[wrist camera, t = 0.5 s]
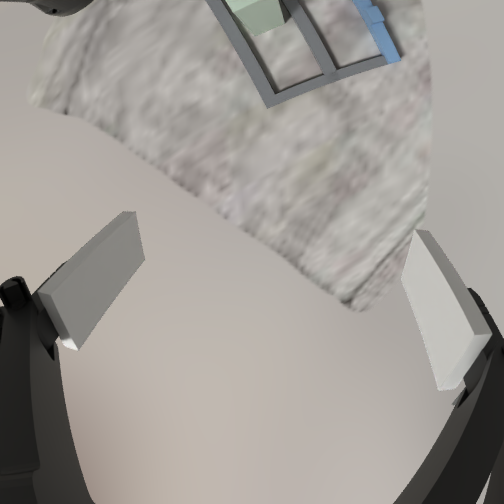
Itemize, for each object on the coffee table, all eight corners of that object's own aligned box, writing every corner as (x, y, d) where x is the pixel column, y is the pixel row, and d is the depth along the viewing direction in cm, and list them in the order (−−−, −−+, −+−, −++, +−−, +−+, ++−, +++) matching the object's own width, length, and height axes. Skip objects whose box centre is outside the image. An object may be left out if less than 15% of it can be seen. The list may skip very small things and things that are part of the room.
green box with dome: (240, 12, 27) (207, -25, 16) (269, -1, 26) (251, -45, 14) (254, 36, 29) (228, 7, 17) (284, 23, 28) (274, -13, 16)
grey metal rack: (189, -25, 25) (182, -32, 22) (312, -73, 19) (312, -83, 16) (267, 108, 33) (265, 109, 31) (397, 61, 27) (404, 59, 25)
